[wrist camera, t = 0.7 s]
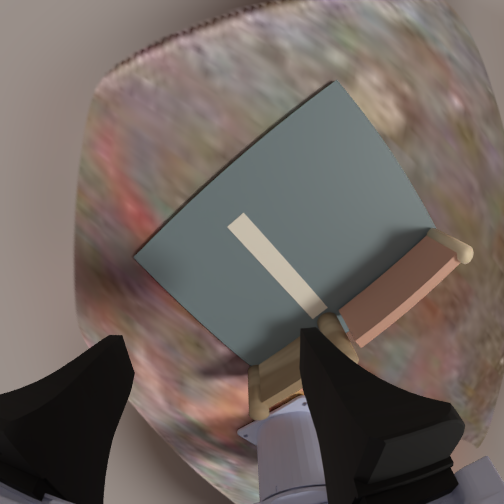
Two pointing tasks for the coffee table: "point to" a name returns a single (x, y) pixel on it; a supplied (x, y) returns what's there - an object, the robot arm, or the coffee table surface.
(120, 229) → the coffee table surface
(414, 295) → the fence panel
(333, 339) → the fence frame
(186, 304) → the card
